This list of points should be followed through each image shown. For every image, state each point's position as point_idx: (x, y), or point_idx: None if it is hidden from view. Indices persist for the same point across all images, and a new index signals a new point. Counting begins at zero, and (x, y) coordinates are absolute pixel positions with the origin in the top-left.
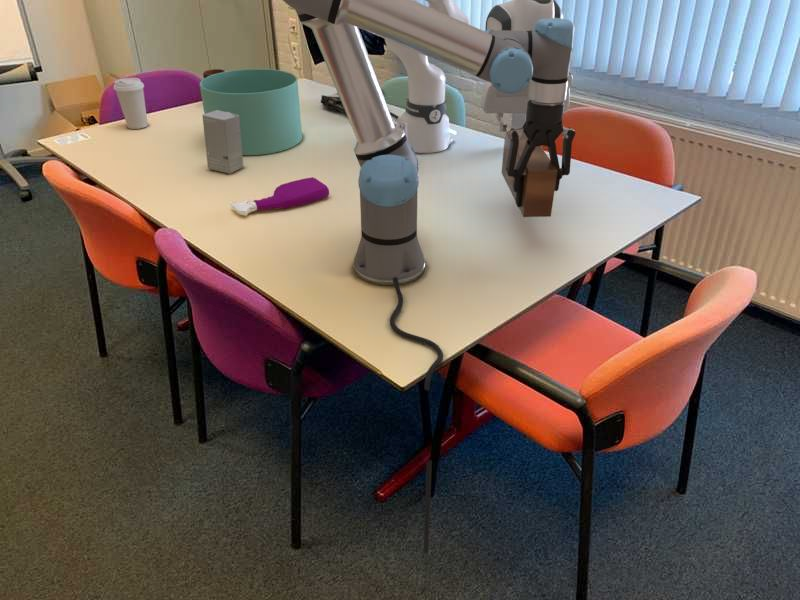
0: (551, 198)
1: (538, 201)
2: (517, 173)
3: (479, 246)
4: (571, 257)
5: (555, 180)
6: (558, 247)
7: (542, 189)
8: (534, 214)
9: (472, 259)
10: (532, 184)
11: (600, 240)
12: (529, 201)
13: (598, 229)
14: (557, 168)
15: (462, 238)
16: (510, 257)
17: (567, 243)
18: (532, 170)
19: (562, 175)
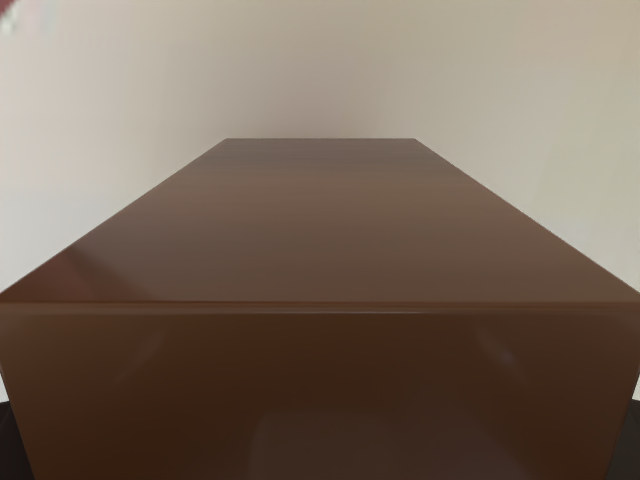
0: (205, 164)
1: (326, 158)
2: (632, 417)
3: (548, 159)
4: (153, 25)
5: (108, 225)
6: (199, 130)
7: (299, 186)
8: (341, 141)
9: (626, 34)
10: (442, 208)
11: (3, 184)
12: (408, 159)
13: (5, 279)
14: (17, 472)
15: (595, 234)
16: (442, 43)
17: (153, 165)
18: (567, 322)
19: (8, 403)
